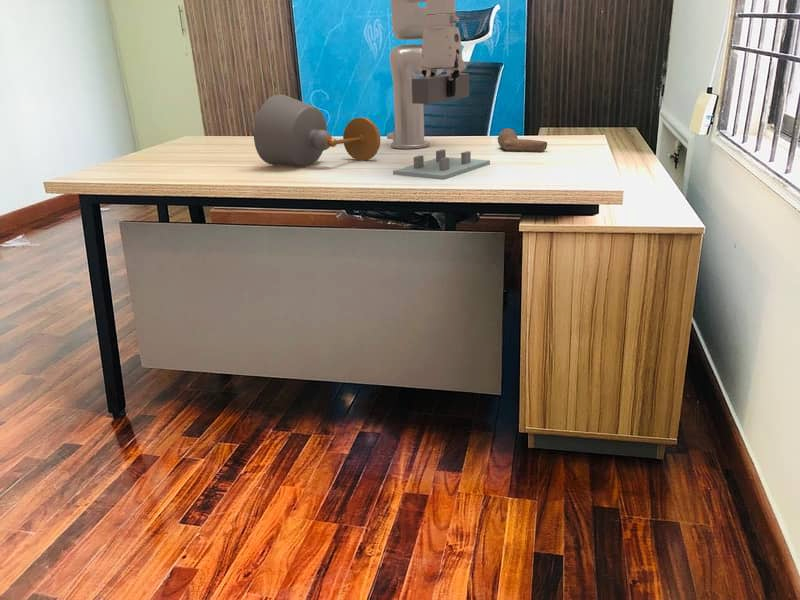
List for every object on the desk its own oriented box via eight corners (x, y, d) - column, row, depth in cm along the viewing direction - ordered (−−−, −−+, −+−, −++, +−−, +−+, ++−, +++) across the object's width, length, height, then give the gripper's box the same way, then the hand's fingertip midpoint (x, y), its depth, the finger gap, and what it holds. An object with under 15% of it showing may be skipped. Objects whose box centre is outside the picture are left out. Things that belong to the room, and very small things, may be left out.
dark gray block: (453, 96, 193) (453, 73, 191) (469, 96, 191) (469, 72, 189) (412, 103, 179) (411, 78, 176) (428, 103, 176) (428, 78, 174)
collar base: (393, 174, 187) (392, 159, 185) (441, 160, 205) (441, 146, 203) (443, 179, 178) (443, 163, 176) (489, 164, 196) (490, 149, 194)
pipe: (545, 137, 208) (551, 127, 216) (491, 136, 214) (499, 126, 222) (545, 158, 211) (551, 148, 219) (491, 156, 217) (499, 146, 225)
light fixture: (253, 94, 193) (331, 110, 181) (310, 93, 214) (384, 107, 202) (250, 167, 200) (325, 187, 188) (306, 159, 221) (376, 177, 209)
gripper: (477, 20, 176) (476, 95, 182) (421, 23, 185) (422, 94, 192) (461, 20, 170) (462, 98, 177) (404, 23, 180) (407, 97, 186)
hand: (441, 95), depth 184 cm, fingers closed on dark gray block, 5 cm apart
